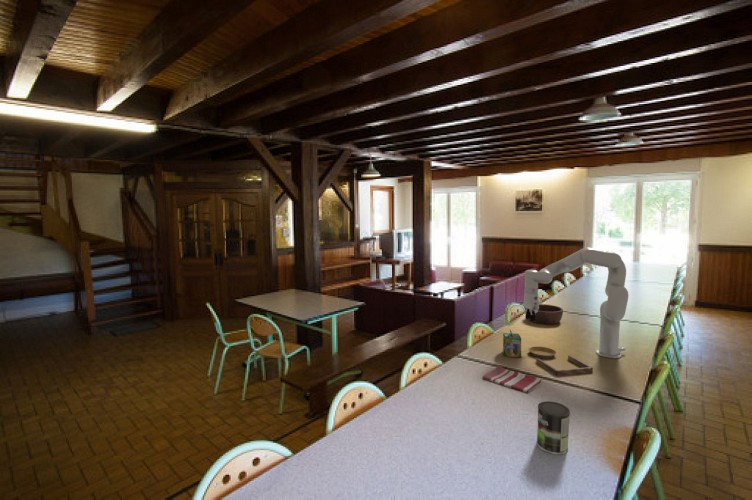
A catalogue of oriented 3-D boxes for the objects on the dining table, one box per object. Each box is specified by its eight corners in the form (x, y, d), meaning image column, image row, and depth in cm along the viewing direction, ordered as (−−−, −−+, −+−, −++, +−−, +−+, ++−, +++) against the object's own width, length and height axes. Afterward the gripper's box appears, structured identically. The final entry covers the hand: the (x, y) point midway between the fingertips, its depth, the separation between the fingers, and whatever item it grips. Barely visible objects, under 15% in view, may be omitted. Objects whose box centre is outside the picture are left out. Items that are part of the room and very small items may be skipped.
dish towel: (498, 369, 205) (498, 365, 205) (542, 383, 188) (542, 378, 188) (481, 379, 193) (482, 374, 193) (527, 395, 177) (528, 389, 176)
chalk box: (521, 357, 220) (521, 332, 218) (504, 356, 222) (505, 331, 220) (518, 352, 229) (519, 327, 227) (502, 351, 231) (503, 327, 229)
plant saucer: (524, 350, 232) (525, 346, 232) (549, 350, 231) (549, 346, 231) (534, 359, 217) (534, 355, 217) (560, 359, 217) (560, 355, 217)
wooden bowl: (569, 325, 280) (569, 311, 279) (534, 326, 280) (534, 312, 279) (553, 316, 305) (554, 303, 304) (521, 316, 305) (522, 304, 304)
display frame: (569, 359, 216) (569, 355, 216) (592, 372, 199) (592, 367, 199) (536, 362, 213) (536, 358, 212) (556, 375, 195) (556, 371, 195)
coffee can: (546, 455, 132) (547, 416, 130) (531, 438, 142) (532, 401, 141) (574, 453, 133) (576, 414, 131) (558, 436, 143) (559, 400, 142)
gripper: (545, 292, 226) (544, 323, 228) (528, 287, 243) (528, 315, 244) (533, 293, 225) (532, 324, 227) (517, 288, 241) (517, 316, 243)
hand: (530, 319), depth 235 cm, fingers open, 4 cm apart
